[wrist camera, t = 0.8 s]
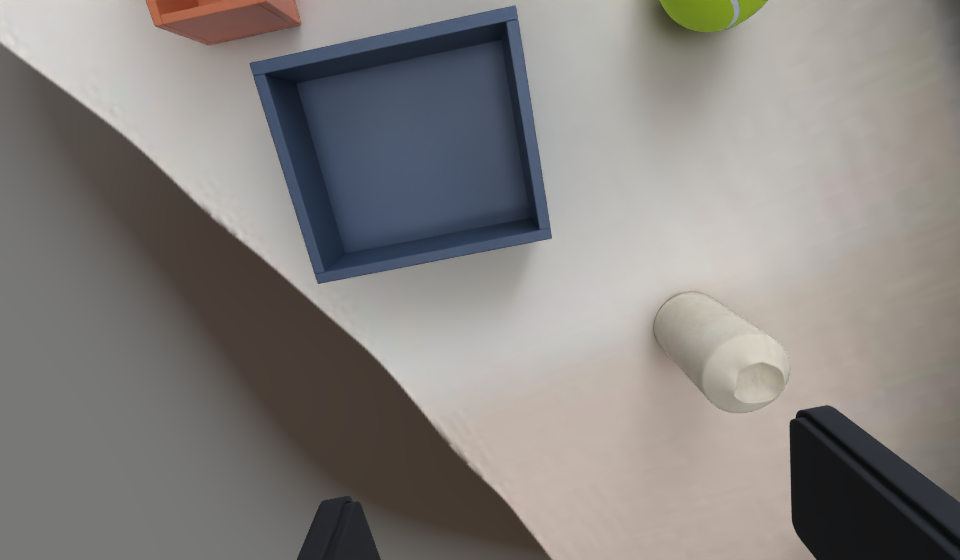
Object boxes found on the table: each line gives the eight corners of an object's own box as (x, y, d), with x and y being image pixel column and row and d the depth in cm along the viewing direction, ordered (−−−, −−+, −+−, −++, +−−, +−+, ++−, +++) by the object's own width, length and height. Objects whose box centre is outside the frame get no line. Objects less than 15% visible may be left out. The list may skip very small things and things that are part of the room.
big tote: (286, 75, 32) (248, 63, 27) (508, 27, 31) (515, 4, 26) (341, 262, 36) (317, 284, 30) (540, 223, 35) (552, 238, 30)
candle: (659, 362, 39) (720, 436, 29) (647, 301, 37) (707, 358, 27) (726, 345, 38) (810, 413, 29) (716, 282, 37) (802, 333, 27)
